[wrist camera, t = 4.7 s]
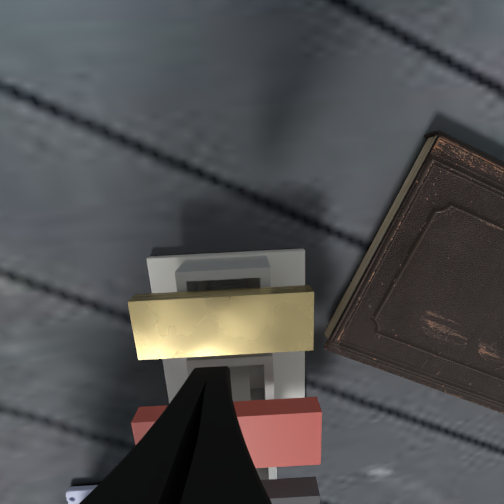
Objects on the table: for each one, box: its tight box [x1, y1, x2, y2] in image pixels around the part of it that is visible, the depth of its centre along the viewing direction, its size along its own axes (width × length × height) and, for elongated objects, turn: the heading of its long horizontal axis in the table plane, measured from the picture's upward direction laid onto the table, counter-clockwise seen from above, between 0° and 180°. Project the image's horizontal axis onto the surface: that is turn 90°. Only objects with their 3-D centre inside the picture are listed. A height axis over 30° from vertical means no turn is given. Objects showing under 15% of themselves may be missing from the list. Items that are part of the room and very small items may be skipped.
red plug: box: [131, 372, 322, 468], centre depth 16 cm, size 4×10×4 cm, turn 93°
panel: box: [147, 249, 305, 480], centre depth 19 cm, size 18×11×3 cm, turn 3°
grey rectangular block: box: [261, 477, 320, 504], centre depth 17 cm, size 4×10×4 cm, turn 93°
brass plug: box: [128, 280, 314, 360], centre depth 16 cm, size 4×10×4 cm, turn 93°
